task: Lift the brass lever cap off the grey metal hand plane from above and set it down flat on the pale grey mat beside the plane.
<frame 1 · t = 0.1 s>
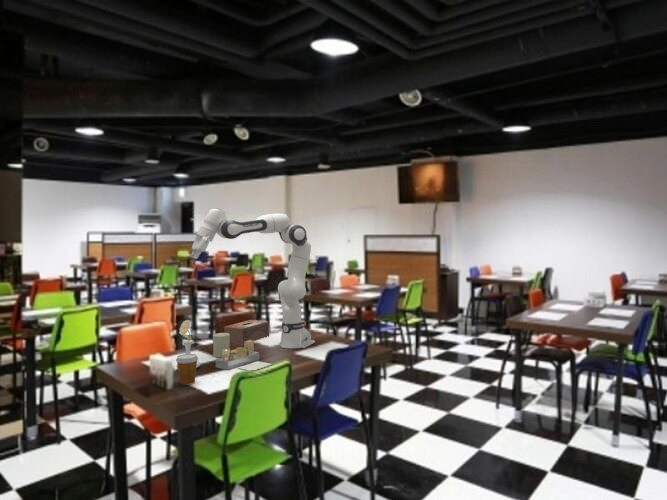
hand: (193, 258, 249), 54 cm above the table, tool tilted 30°, fingers open, 8 cm apart
can: (221, 355, 257), on the table
disposable coffee cup: (187, 382, 210), on the table
tissue box cover: (247, 339, 296), on the table
hand plane: (238, 363, 240), on the table
lever cap: (237, 355, 240), point 4 cm above the table, touching hand plane
mat: (255, 367, 233), on the table
flower in vase: (188, 369, 231), on the table
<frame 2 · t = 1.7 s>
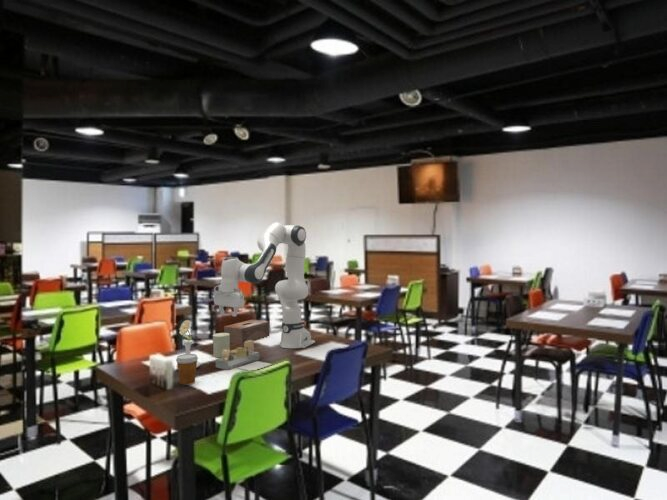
hand: (228, 315, 239), 25 cm above the table, tool pointing down, fingers open, 8 cm apart
nothing on the table moved.
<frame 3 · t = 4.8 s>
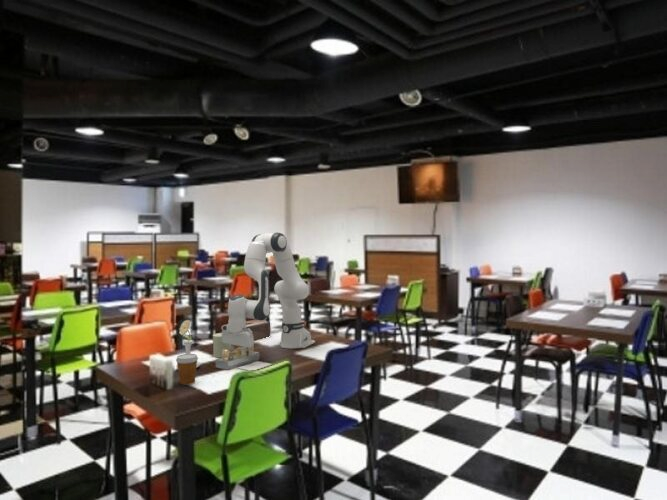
hand: (237, 353, 240), 5 cm above the table, tool pointing down, fingers closed on lever cap, 5 cm apart
lever cap: (237, 355, 240), point 4 cm above the table, touching gripper, hand plane
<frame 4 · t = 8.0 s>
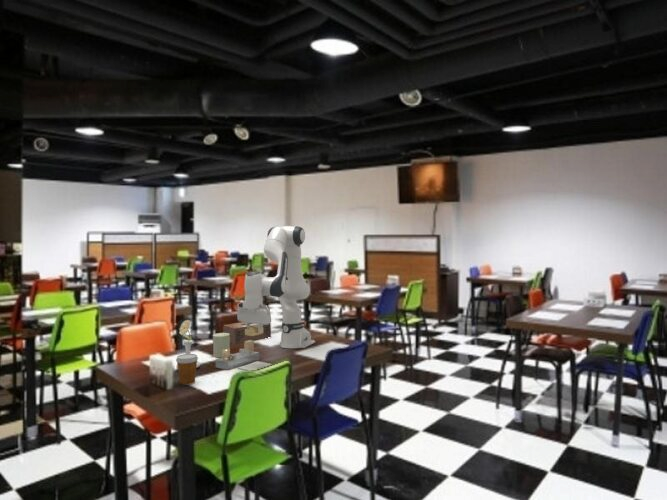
hand: (254, 331, 232), 18 cm above the table, tool pointing down, fingers closed on lever cap, 5 cm apart
lever cap: (254, 334, 232), point 17 cm above the table, touching gripper
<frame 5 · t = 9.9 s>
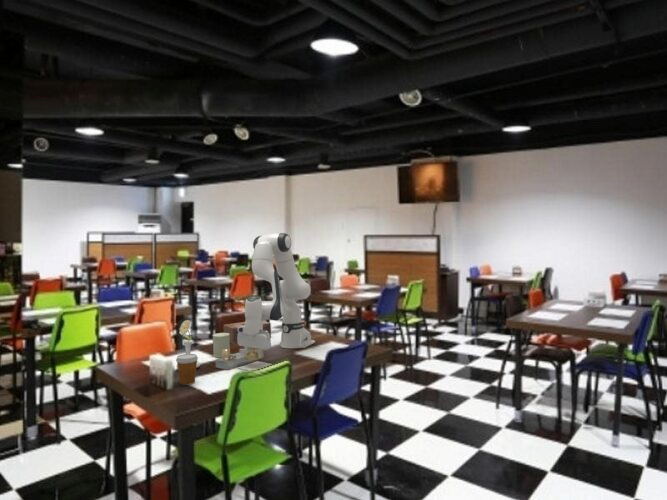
hand: (254, 356, 233), 5 cm above the table, tool pointing down, fingers closed on lever cap, 5 cm apart
lever cap: (254, 358, 233), point 4 cm above the table, touching gripper
when the fingers open (3 cm above the table, at t = 11.3 s): lever cap drops 1 cm, resting on mat.
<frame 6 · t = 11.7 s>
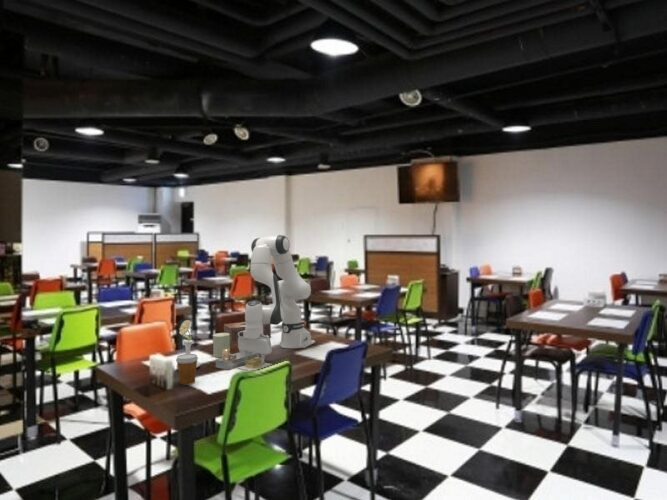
hand: (254, 360, 233), 3 cm above the table, tool pointing down, fingers open, 8 cm apart
lever cap: (254, 365, 233), point 1 cm above the table, touching mat
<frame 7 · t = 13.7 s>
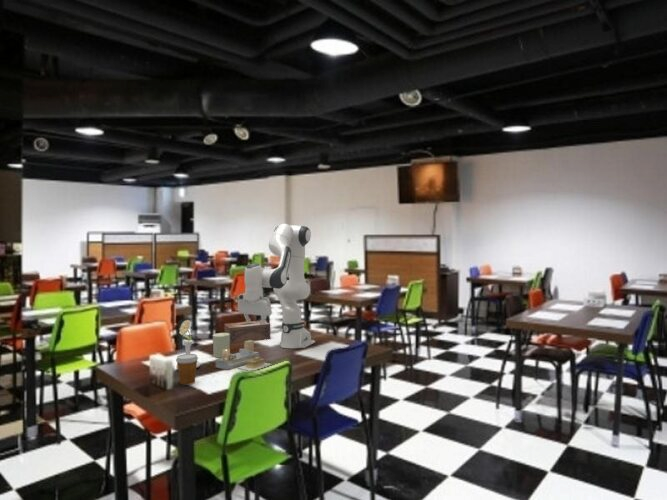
hand: (255, 323, 235), 22 cm above the table, tool pointing down, fingers open, 8 cm apart
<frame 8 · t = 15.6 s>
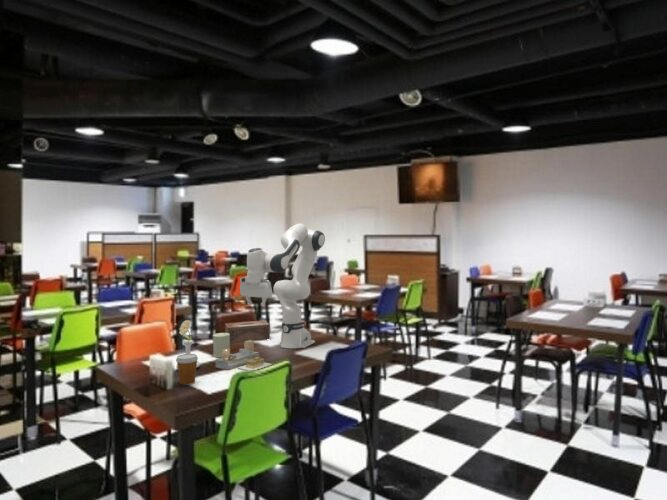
hand: (256, 305, 245), 29 cm above the table, tool pointing down, fingers open, 8 cm apart
at the end: lever cap inside the target area on the mat (0.0 cm from its centre), point 0.6 cm above the mat's base; lever cap tilted 0°; the gripper is holding nothing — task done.
